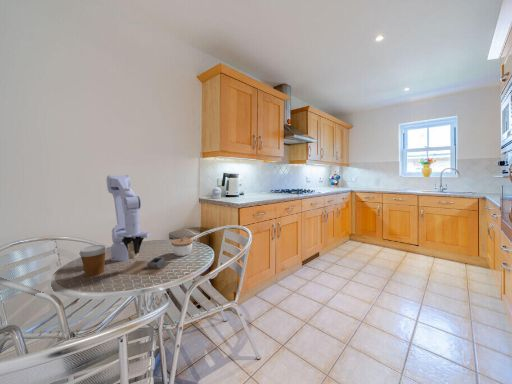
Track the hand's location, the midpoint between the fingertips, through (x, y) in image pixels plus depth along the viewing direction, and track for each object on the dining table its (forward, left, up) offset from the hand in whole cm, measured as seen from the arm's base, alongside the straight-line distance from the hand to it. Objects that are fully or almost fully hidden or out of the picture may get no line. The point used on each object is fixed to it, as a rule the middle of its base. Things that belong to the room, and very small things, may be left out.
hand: (133, 252), depth 98 cm
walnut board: (+4, +2, -8) cm, 9 cm away
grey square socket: (+8, +4, -8) cm, 12 cm away
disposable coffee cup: (-15, -5, -9) cm, 18 cm away
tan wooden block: (0, 0, -2) cm, 2 cm away
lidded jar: (+14, +20, -9) cm, 26 cm away
